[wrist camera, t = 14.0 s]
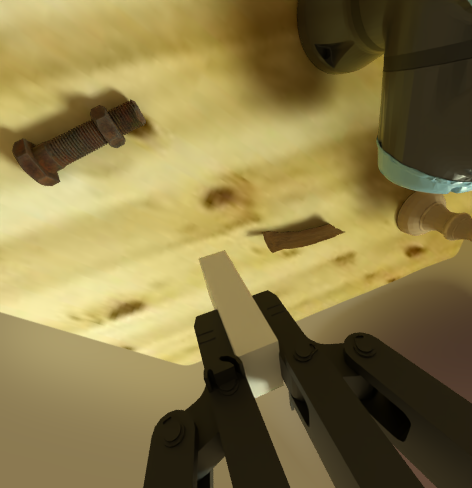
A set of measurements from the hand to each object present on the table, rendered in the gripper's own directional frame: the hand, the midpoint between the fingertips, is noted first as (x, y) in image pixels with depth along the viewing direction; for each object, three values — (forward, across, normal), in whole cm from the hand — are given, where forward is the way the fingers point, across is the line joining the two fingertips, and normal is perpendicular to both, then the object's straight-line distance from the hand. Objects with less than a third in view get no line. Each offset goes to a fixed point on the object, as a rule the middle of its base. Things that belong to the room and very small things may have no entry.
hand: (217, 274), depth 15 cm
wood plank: (+30, +21, -18) cm, 40 cm away
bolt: (+30, -9, +6) cm, 32 cm away
